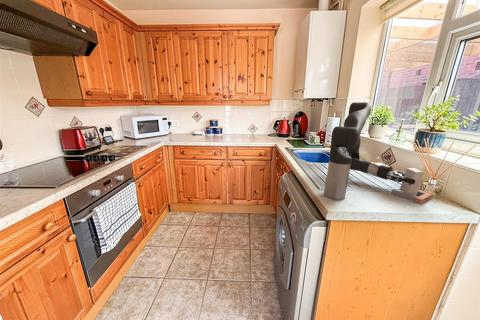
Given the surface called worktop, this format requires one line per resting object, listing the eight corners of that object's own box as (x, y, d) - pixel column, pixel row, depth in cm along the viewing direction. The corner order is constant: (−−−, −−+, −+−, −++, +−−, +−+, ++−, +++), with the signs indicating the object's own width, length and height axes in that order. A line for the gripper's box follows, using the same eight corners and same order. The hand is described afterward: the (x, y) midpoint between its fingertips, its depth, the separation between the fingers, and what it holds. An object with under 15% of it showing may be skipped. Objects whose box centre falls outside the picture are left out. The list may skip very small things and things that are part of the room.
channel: (390, 193, 99) (391, 190, 98) (401, 188, 105) (402, 185, 104) (420, 203, 89) (422, 199, 88) (431, 197, 95) (432, 194, 94)
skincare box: (399, 189, 101) (405, 167, 97) (408, 190, 100) (414, 167, 97) (407, 195, 95) (414, 171, 91) (417, 195, 94) (424, 172, 91)
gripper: (374, 165, 103) (413, 176, 89) (387, 162, 110) (426, 171, 96) (371, 179, 105) (409, 191, 91) (384, 174, 112) (421, 185, 98)
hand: (417, 180), depth 94 cm, fingers closed on skincare box, 6 cm apart
